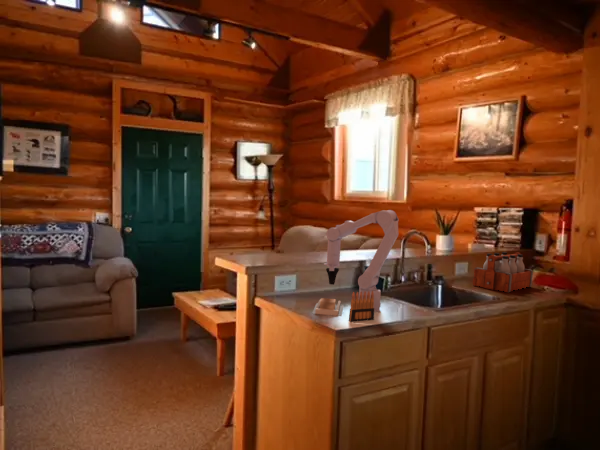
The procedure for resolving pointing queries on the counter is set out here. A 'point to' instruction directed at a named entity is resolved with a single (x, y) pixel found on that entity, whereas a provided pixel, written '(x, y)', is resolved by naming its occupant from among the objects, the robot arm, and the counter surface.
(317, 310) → the bay
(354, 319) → the ammunition clip
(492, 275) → the milk bottle holder
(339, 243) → the robot arm
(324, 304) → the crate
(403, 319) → the counter surface
